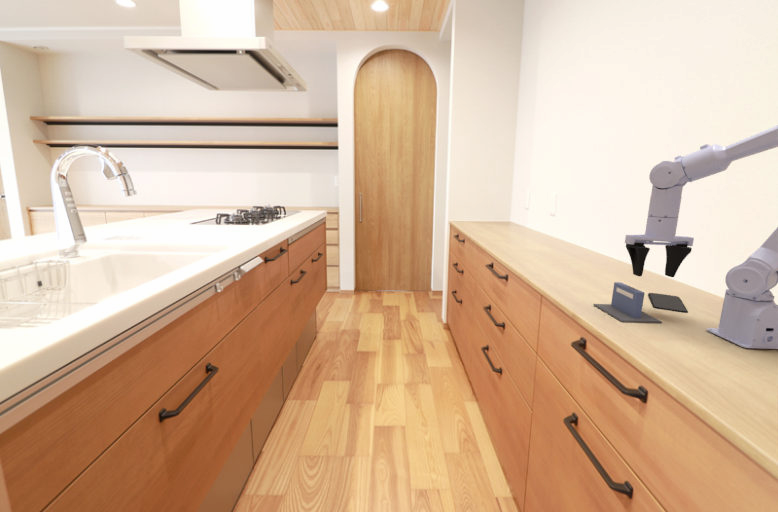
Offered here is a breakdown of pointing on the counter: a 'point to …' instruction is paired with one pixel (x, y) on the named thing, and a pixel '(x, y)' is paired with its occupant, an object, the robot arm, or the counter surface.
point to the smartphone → (667, 302)
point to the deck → (627, 299)
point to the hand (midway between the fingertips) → (653, 275)
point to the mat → (624, 317)
